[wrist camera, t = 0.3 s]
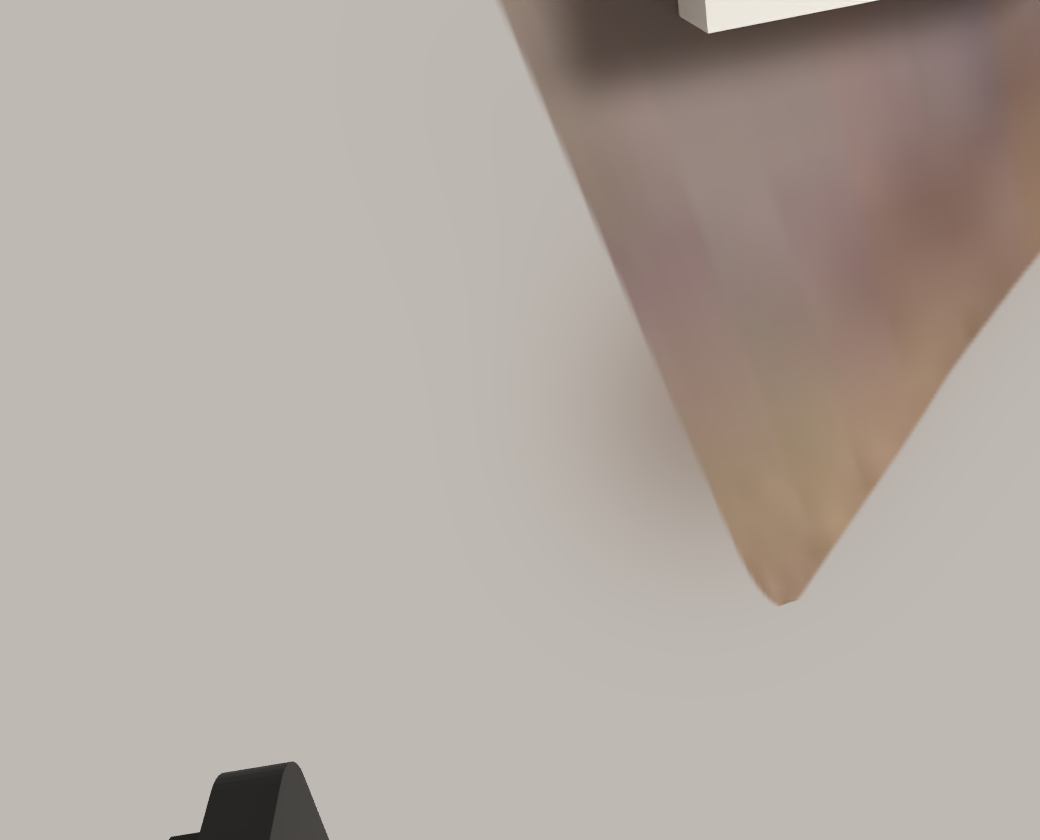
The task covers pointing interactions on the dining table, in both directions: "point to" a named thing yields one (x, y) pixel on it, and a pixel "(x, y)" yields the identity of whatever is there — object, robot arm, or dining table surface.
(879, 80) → the dining table surface
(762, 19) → the hole block
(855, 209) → the dining table surface
